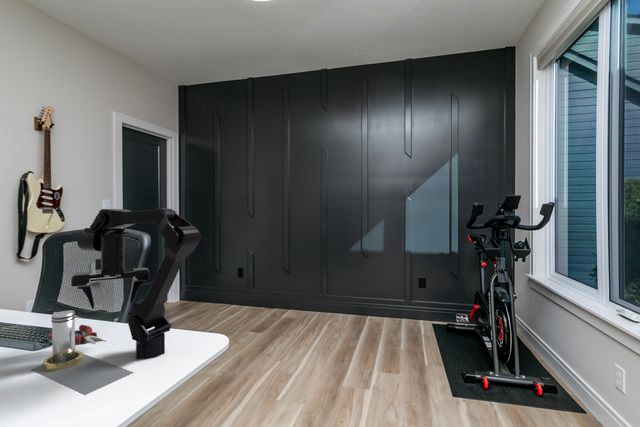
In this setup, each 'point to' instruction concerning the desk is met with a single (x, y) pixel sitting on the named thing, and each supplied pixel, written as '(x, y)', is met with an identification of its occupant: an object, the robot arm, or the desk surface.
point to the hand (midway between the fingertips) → (112, 305)
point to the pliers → (84, 336)
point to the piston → (63, 336)
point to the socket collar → (64, 365)
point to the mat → (86, 375)
